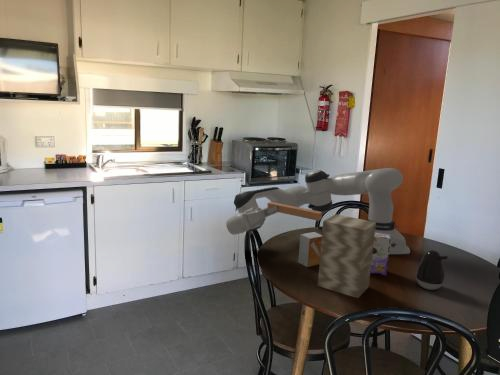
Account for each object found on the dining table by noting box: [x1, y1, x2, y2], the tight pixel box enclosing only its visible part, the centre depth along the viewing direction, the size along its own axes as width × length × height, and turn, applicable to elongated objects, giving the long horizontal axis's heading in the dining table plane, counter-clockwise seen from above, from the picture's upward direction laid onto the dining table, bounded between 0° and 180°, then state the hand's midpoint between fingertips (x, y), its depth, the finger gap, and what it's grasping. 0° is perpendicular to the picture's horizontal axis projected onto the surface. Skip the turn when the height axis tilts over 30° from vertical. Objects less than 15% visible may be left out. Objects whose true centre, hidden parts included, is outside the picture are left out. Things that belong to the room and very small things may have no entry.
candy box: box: [370, 233, 391, 276], centre depth 177 cm, size 14×6×16 cm, turn 71°
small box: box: [297, 231, 322, 268], centre depth 182 cm, size 8×6×13 cm
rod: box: [266, 201, 323, 222], centre depth 176 cm, size 24×3×3 cm, turn 57°
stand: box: [317, 213, 376, 299], centre depth 160 cm, size 16×12×26 cm
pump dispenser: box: [415, 249, 449, 291], centre depth 164 cm, size 10×10×15 cm
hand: (279, 206), depth 180 cm, fingers closed on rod, 3 cm apart
